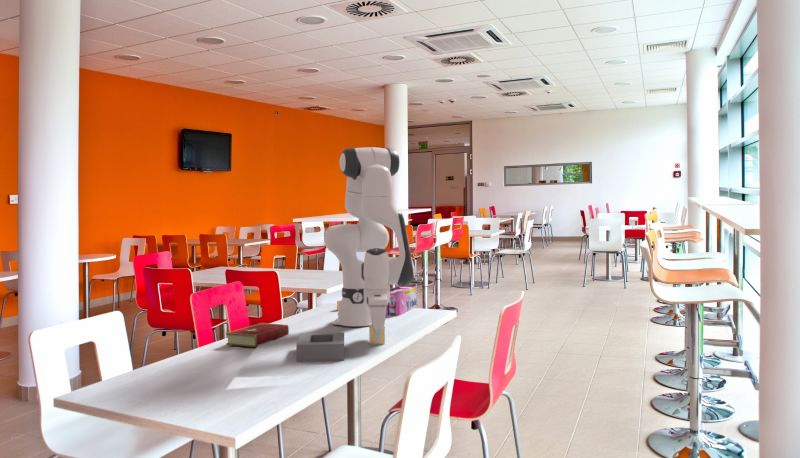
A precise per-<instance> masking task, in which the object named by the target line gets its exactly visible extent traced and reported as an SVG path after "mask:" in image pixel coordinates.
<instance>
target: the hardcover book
mask: <svg viewBox="0 0 800 458" xmlns="http://www.w3.org/2000/svg"><path fill="white" fill-rule="evenodd" d="M289 331H290V327H289V325H288V324H283V323H282V324H281V323H279V324H278V323H267V322H260V323H257V324H253V325H250V326H249V325H248V326H246V327H243V328H239V329H235V330H232V331H228V332H226V333H225V334H226V335H227V343H225V344H226V345H227V346H237V347H248V348H249V347H250V348H256V347H258V346H260V345H261V344H264V343H267V342H269V341H276V340H278V339H280V338H283V337H286V336H287V335H289V334H290V333H289Z"/></svg>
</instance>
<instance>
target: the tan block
mask: <svg viewBox="0 0 800 458" xmlns="http://www.w3.org/2000/svg"><path fill="white" fill-rule="evenodd" d="M368 328H369V329H368V330H369V331H368V332H369V333H368V334H369V335H368V337H369V338H368V340H369V341H368V343H369V346H376V345H378V346H379V345H385V344H386V338H385V333H386V330H385V328H386V327H385V326H384V328H383V329H381V333H380V340H375V331H374V329H373V326H372V325H369V326H368Z"/></svg>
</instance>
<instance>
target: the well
mask: <svg viewBox="0 0 800 458" xmlns="http://www.w3.org/2000/svg"><path fill="white" fill-rule="evenodd" d="M295 350H296V362H297V363H298V362H299V363H301V362H302V363H303V362H335V361H337V362H339V361H341V362H342V361H345V332H336V331H335V332H306V333H304V332H303V333H302V332H301V333H300V335H299V338H298V340H297V343H296V349H295Z"/></svg>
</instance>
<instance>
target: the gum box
mask: <svg viewBox="0 0 800 458" xmlns="http://www.w3.org/2000/svg"><path fill="white" fill-rule="evenodd" d="M416 307H418V286H417V285H409V284H408V285H407V286H403V285H397V286H396V287H391V288H390V302H388V305H386V315H385V316H402V315H403V314H406V313H407V312H409V311H411V310H413V309H414V308H416ZM389 314H390V315H389Z"/></svg>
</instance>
